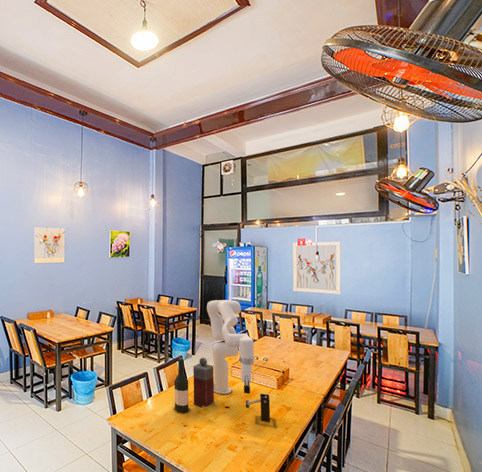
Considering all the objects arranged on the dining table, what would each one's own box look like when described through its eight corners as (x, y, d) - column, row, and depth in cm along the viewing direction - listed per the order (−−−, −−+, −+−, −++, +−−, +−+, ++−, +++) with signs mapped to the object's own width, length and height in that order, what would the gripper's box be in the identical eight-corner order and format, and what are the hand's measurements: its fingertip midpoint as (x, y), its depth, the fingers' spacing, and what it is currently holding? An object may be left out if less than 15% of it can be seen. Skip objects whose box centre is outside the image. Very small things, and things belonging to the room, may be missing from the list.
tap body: (256, 423, 169) (256, 397, 170) (256, 416, 177) (255, 391, 178) (274, 426, 166) (274, 400, 167) (273, 419, 174) (273, 394, 174)
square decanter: (216, 402, 193) (215, 357, 194) (206, 409, 185) (205, 361, 186) (203, 398, 199) (202, 353, 201) (193, 404, 191) (193, 358, 193)
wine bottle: (173, 406, 189) (172, 356, 190) (186, 405, 190) (185, 355, 191) (176, 413, 181) (175, 360, 182) (190, 412, 181) (189, 360, 183)
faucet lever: (246, 409, 172) (244, 404, 173) (246, 404, 178) (245, 399, 179) (268, 403, 169) (266, 398, 169) (268, 398, 174) (266, 394, 175)
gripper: (239, 354, 185) (240, 386, 184) (239, 363, 171) (239, 397, 170) (253, 356, 182) (253, 388, 182) (253, 365, 168) (254, 400, 168)
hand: (247, 392), depth 176 cm, fingers closed
